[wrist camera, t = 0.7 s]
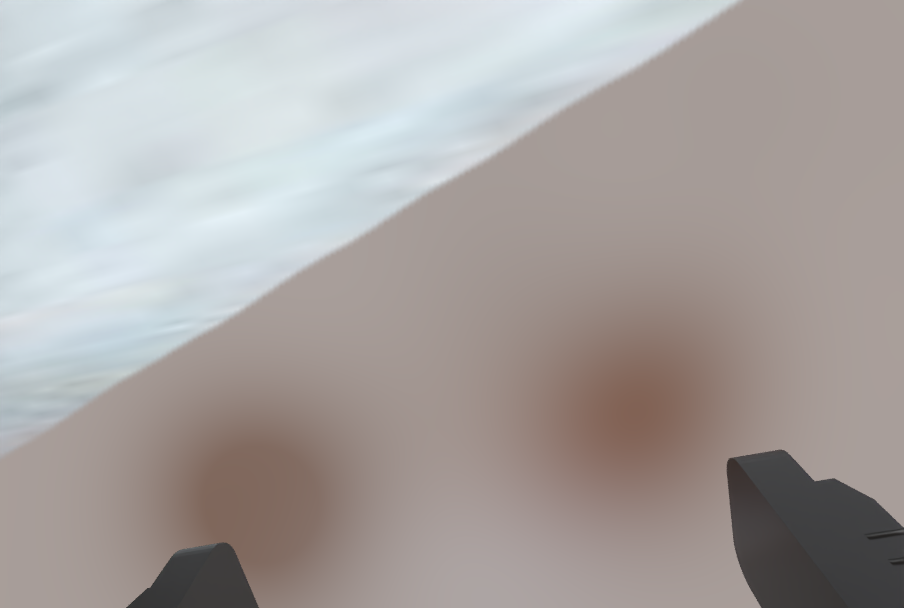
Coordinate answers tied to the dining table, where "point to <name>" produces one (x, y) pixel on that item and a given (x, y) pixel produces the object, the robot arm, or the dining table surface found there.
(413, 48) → the dining table surface
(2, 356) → the dining table surface
